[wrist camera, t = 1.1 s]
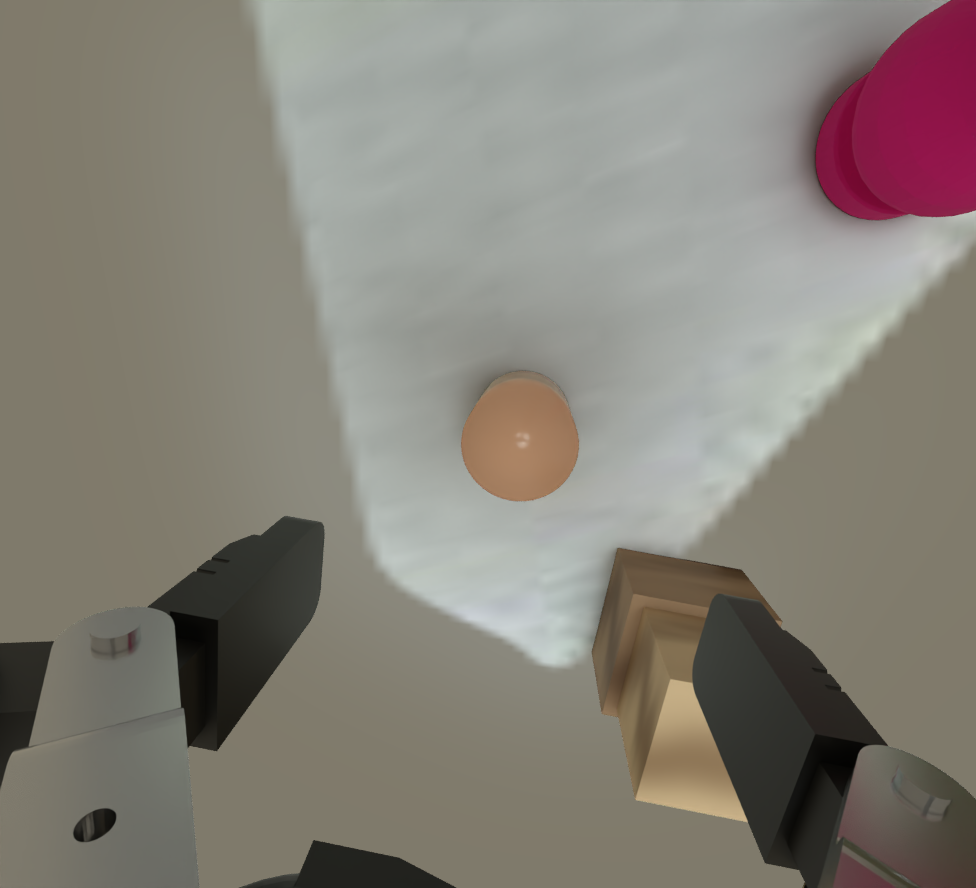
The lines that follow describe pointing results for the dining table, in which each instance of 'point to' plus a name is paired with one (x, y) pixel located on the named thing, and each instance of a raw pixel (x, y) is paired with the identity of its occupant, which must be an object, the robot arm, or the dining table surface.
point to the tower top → (671, 721)
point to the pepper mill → (908, 125)
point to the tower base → (659, 588)
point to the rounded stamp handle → (520, 437)
